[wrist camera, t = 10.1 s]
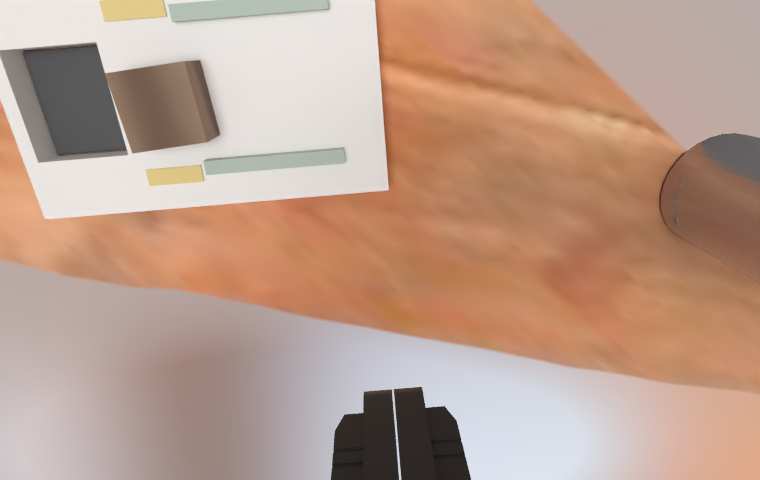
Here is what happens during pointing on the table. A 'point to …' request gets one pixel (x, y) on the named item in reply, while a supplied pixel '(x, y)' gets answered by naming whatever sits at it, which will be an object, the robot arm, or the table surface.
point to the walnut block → (164, 105)
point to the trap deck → (227, 92)
